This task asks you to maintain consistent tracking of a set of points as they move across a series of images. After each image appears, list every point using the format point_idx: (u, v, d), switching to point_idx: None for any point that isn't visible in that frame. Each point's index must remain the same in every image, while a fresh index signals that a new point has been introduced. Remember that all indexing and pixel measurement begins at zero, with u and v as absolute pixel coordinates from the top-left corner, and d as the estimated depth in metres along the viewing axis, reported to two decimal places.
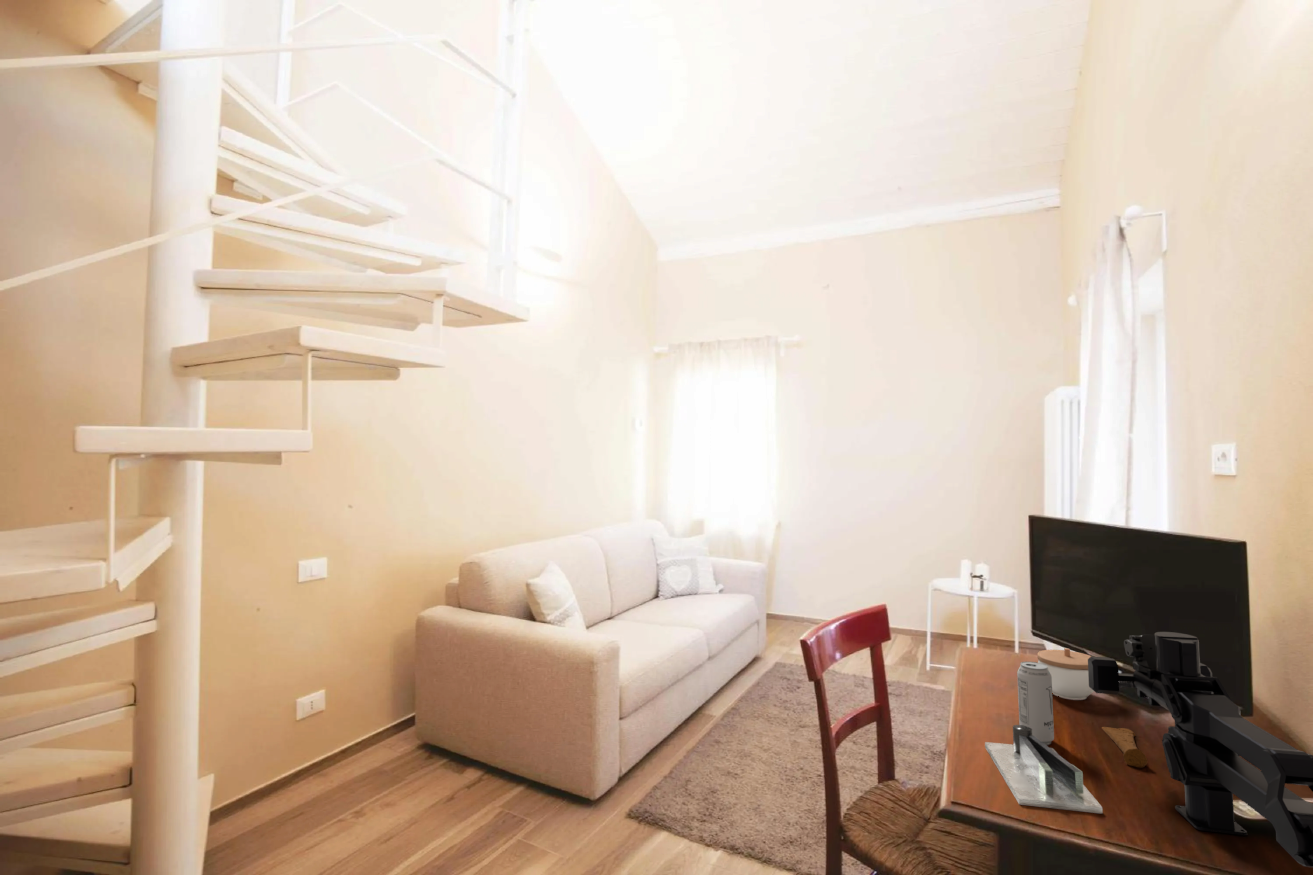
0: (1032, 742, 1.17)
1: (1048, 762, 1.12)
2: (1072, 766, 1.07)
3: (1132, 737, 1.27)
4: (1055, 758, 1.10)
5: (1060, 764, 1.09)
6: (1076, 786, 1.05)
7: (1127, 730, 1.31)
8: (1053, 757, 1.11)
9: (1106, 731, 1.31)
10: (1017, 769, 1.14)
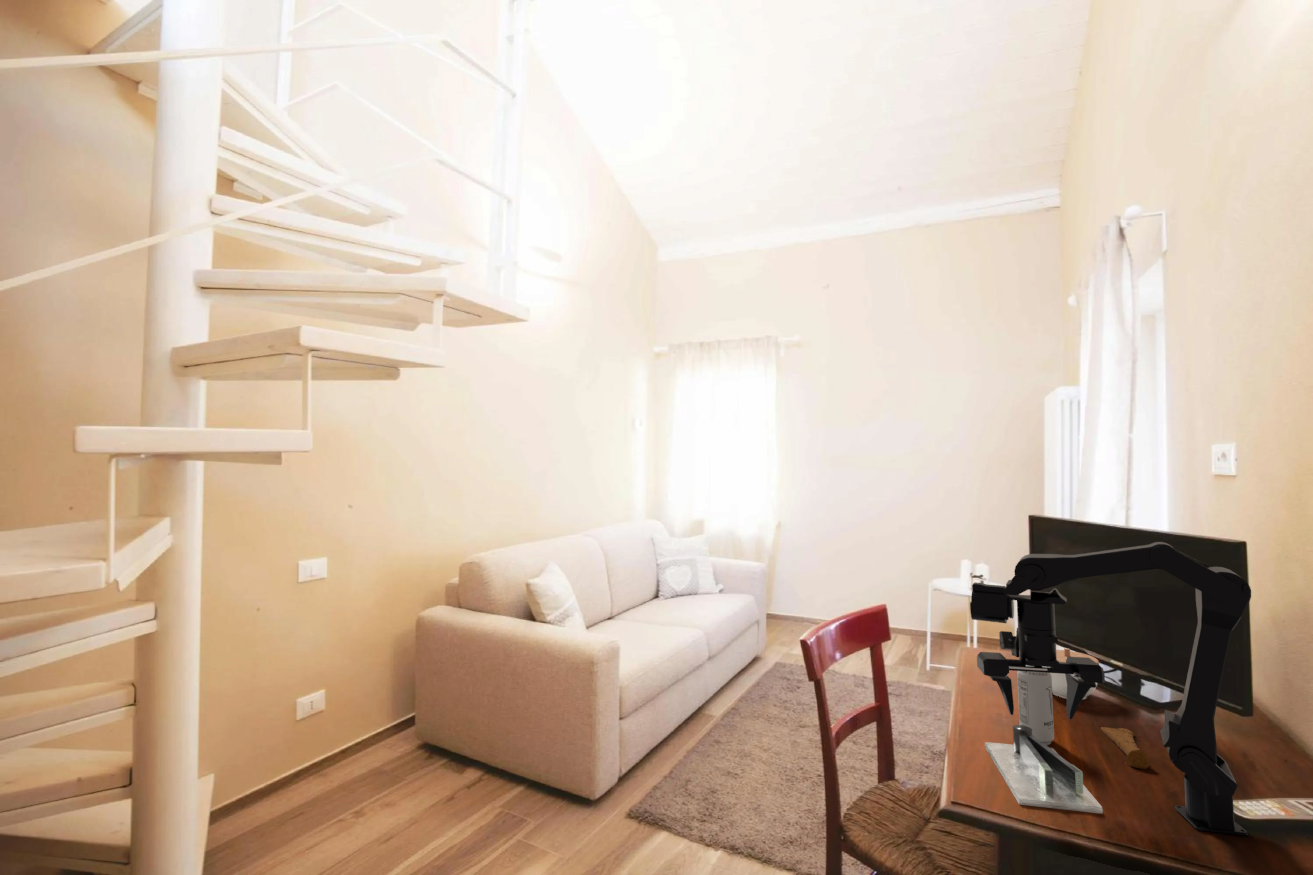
0: (1032, 742, 1.17)
1: (1048, 762, 1.12)
2: (1072, 766, 1.07)
3: (1132, 737, 1.27)
4: (1055, 758, 1.10)
5: (1060, 764, 1.09)
6: (1076, 786, 1.05)
7: (1126, 730, 1.31)
8: (1053, 757, 1.11)
9: (1105, 731, 1.31)
10: (1017, 769, 1.14)
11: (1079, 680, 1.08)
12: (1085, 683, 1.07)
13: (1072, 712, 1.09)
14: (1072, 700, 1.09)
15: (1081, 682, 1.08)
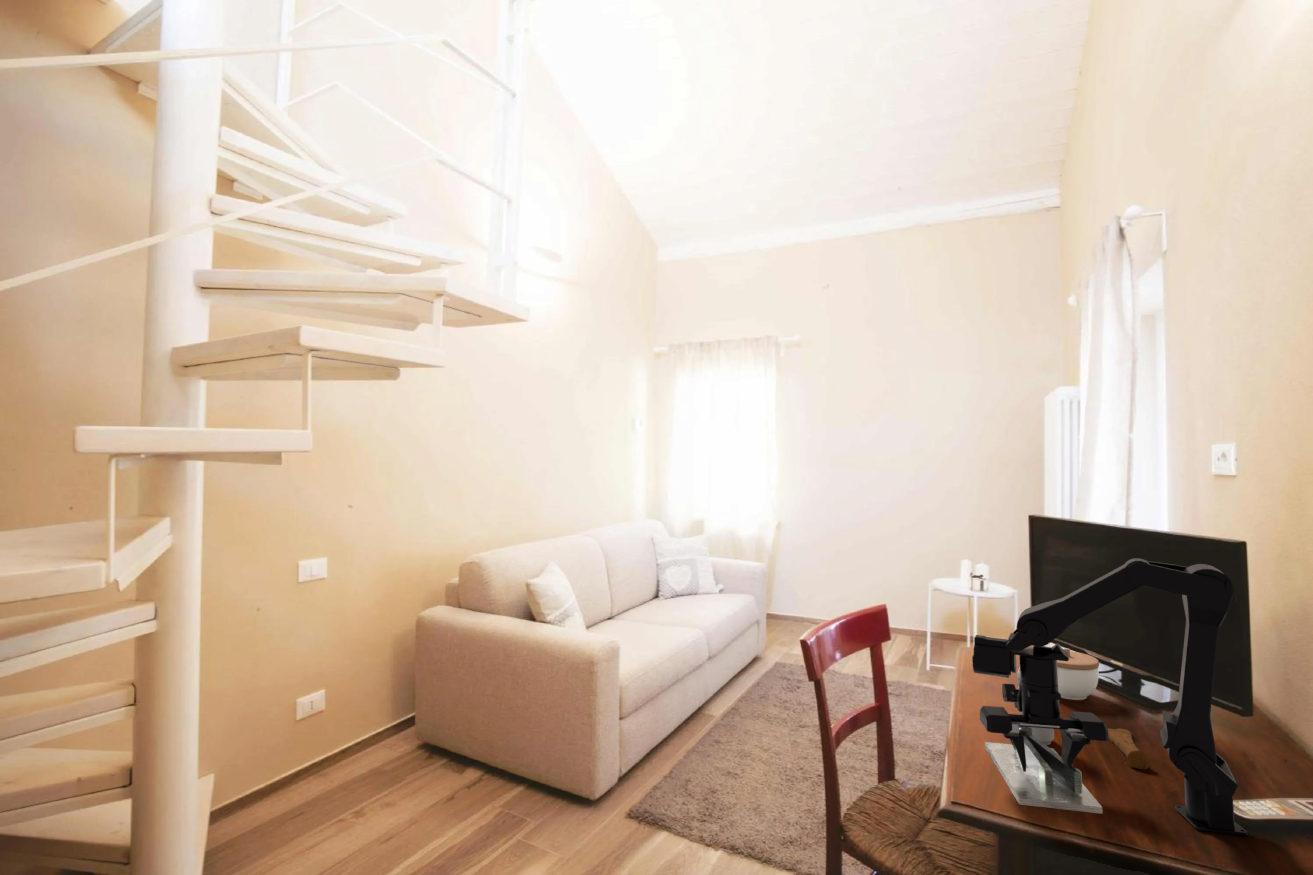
0: (1032, 742, 1.17)
1: (1048, 762, 1.12)
2: (1071, 766, 1.07)
3: (1131, 738, 1.26)
4: (1054, 758, 1.10)
5: (1059, 764, 1.09)
6: (1075, 786, 1.05)
7: (1124, 730, 1.31)
8: (1052, 757, 1.11)
9: None
10: (1017, 769, 1.14)
11: (1073, 736, 1.08)
12: (1079, 740, 1.07)
13: None
14: (1067, 756, 1.08)
15: (1075, 739, 1.07)
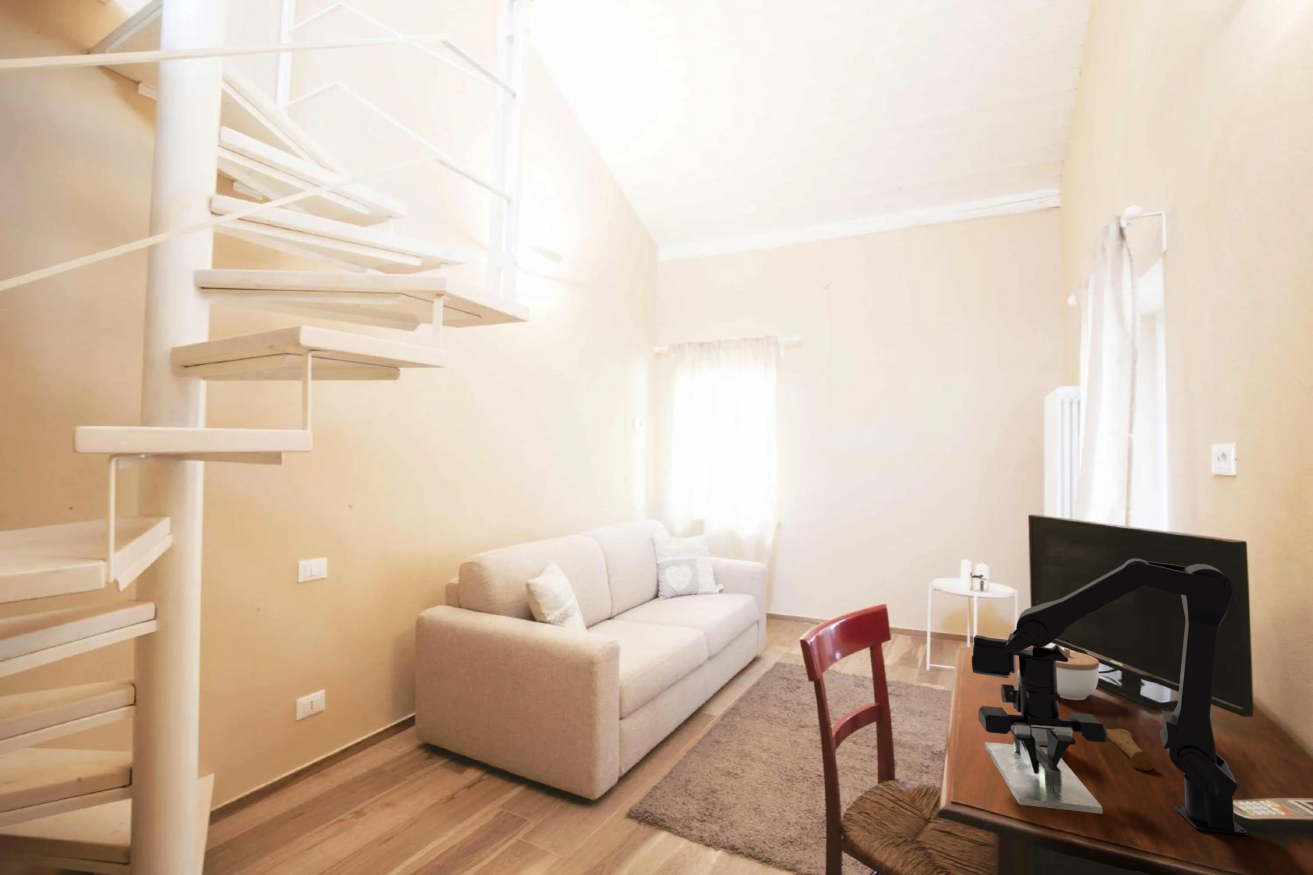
0: None
1: None
2: (1053, 765, 1.07)
3: (1131, 738, 1.26)
4: None
5: None
6: (1054, 785, 1.05)
7: (1124, 731, 1.31)
8: None
9: None
10: (1017, 769, 1.14)
11: (1059, 736, 1.09)
12: (1065, 740, 1.08)
13: None
14: (1052, 756, 1.09)
15: (1061, 739, 1.08)
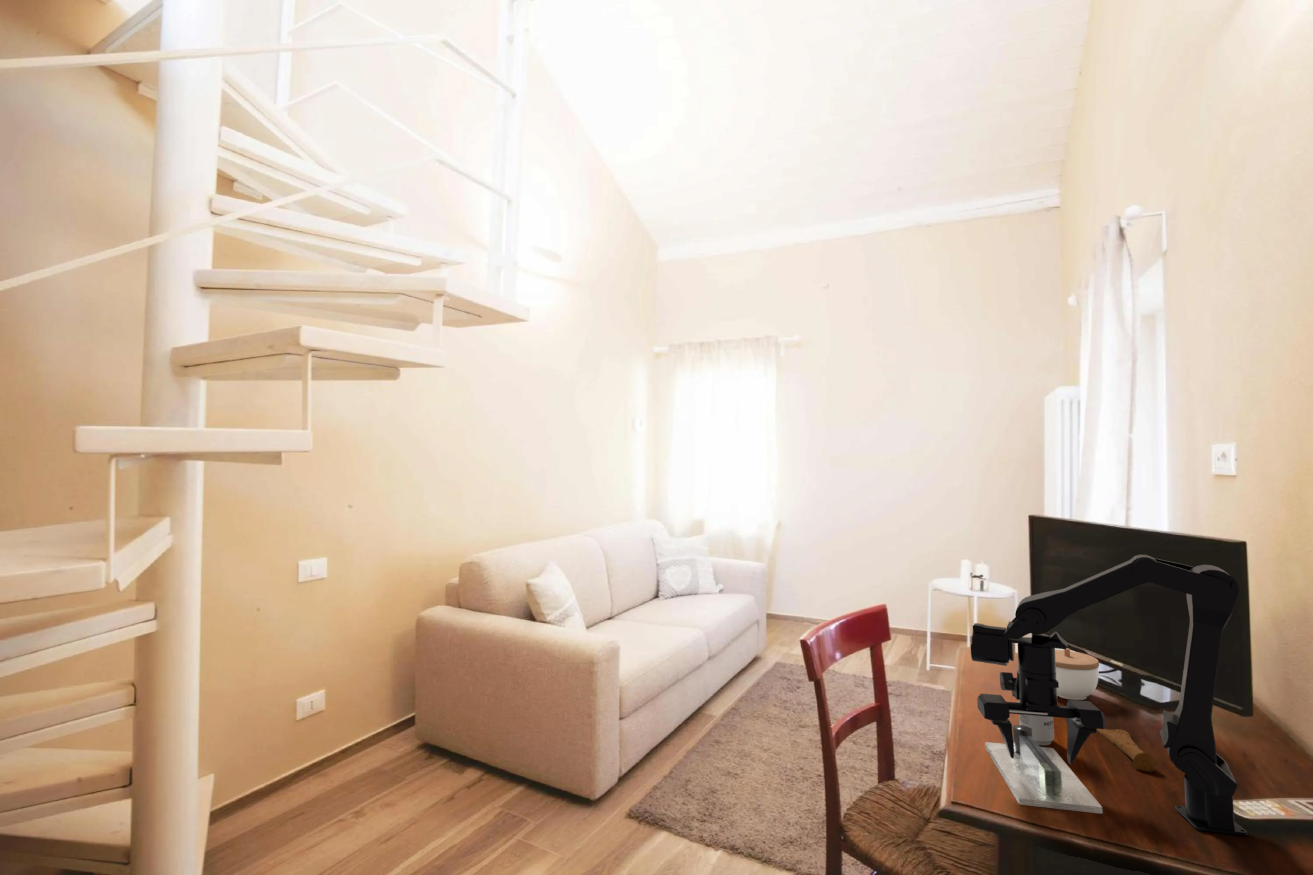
0: None
1: None
2: (1053, 765, 1.07)
3: (1131, 739, 1.26)
4: None
5: None
6: (1054, 785, 1.05)
7: (1122, 731, 1.30)
8: None
9: (1103, 733, 1.30)
10: (1017, 769, 1.14)
11: (1080, 725, 1.08)
12: (1086, 728, 1.07)
13: (1073, 757, 1.09)
14: (1073, 745, 1.08)
15: (1082, 728, 1.07)
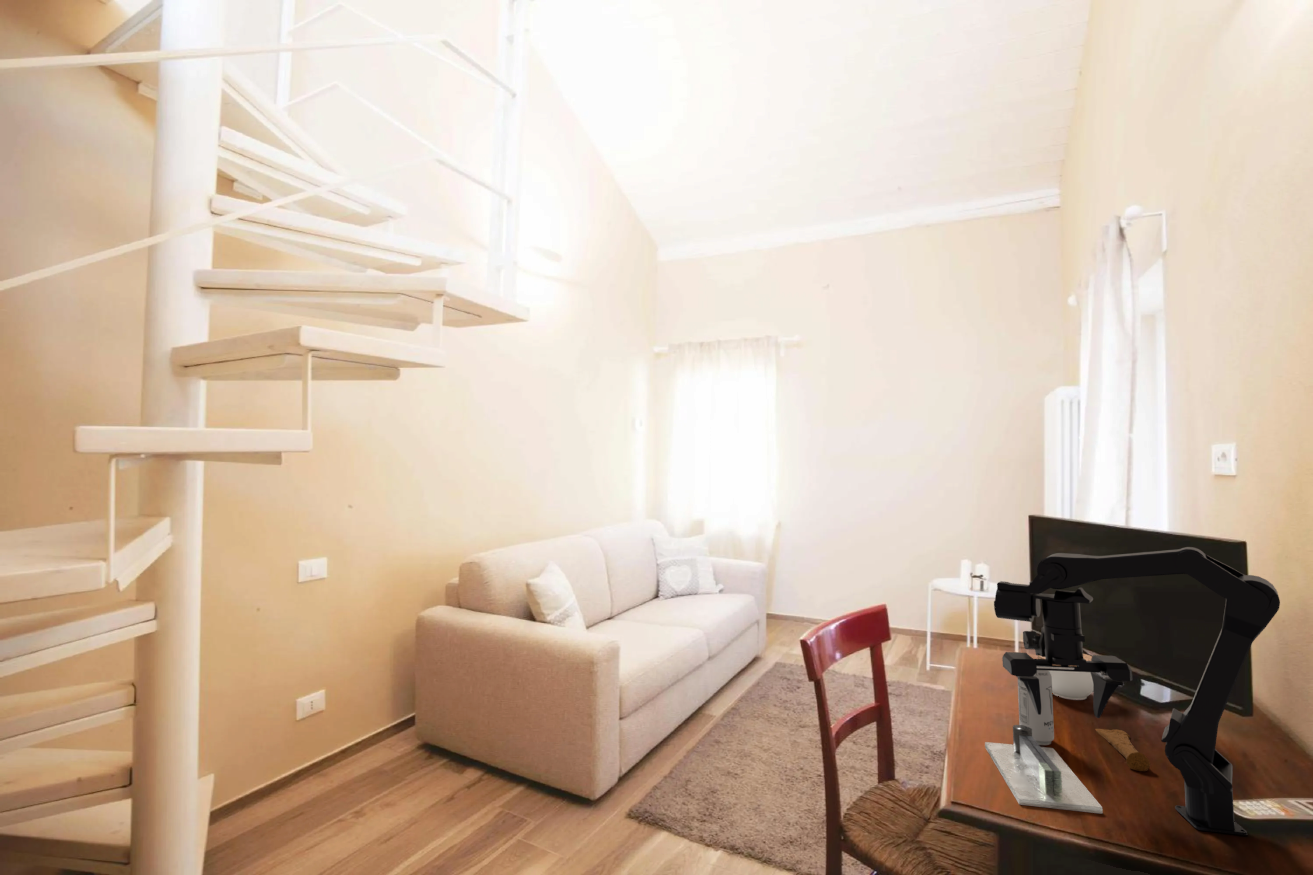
0: None
1: None
2: (1053, 765, 1.07)
3: (1128, 739, 1.26)
4: None
5: None
6: (1054, 785, 1.05)
7: (1121, 731, 1.30)
8: None
9: (1101, 733, 1.30)
10: (1017, 769, 1.14)
11: (1106, 678, 1.09)
12: (1113, 681, 1.08)
13: (1100, 711, 1.09)
14: (1100, 698, 1.09)
15: (1108, 681, 1.08)
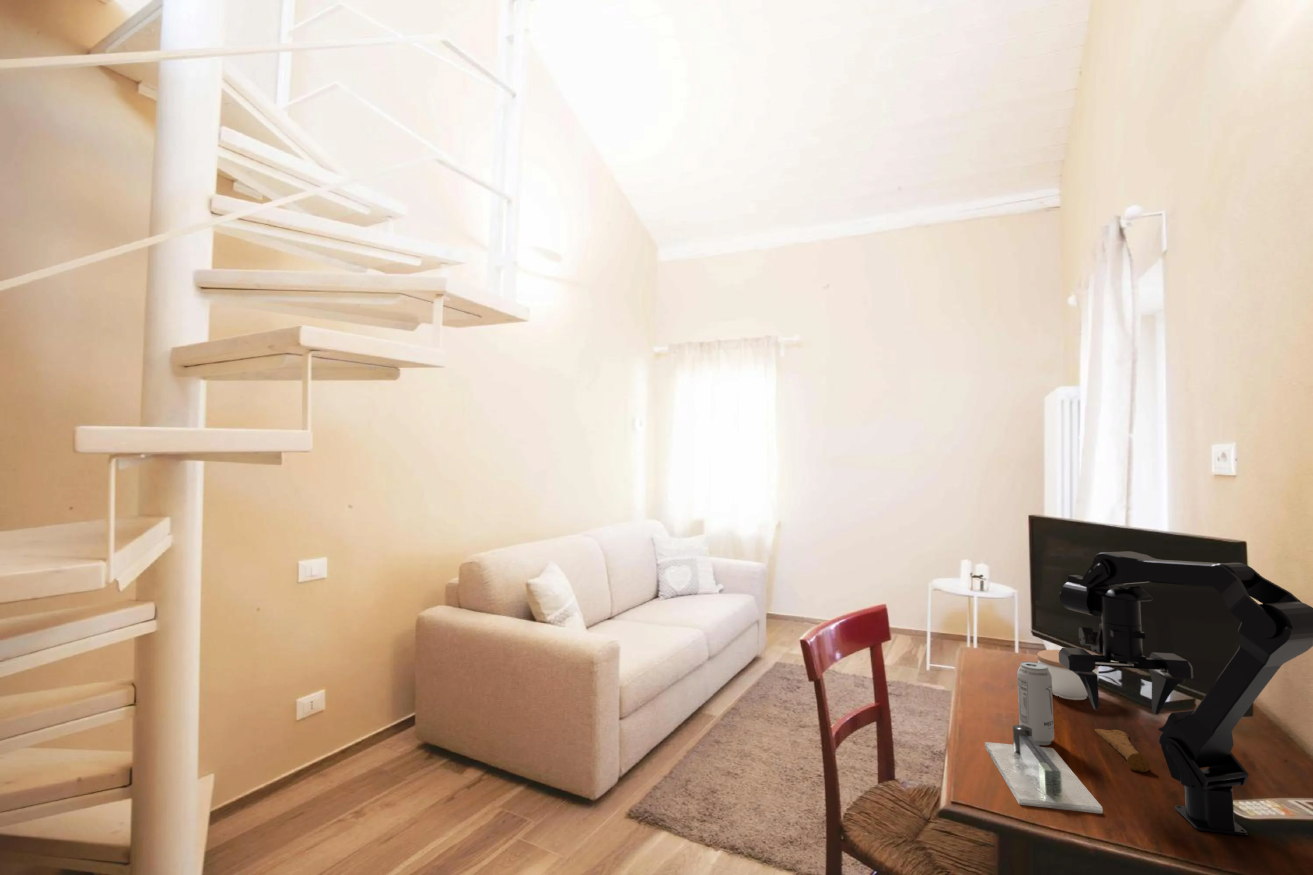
0: None
1: None
2: (1053, 765, 1.07)
3: (1128, 739, 1.26)
4: None
5: None
6: (1054, 785, 1.05)
7: (1120, 732, 1.30)
8: None
9: (1101, 734, 1.30)
10: (1017, 769, 1.14)
11: (1166, 675, 1.09)
12: (1173, 678, 1.08)
13: (1159, 707, 1.10)
14: (1159, 695, 1.09)
15: (1168, 678, 1.08)
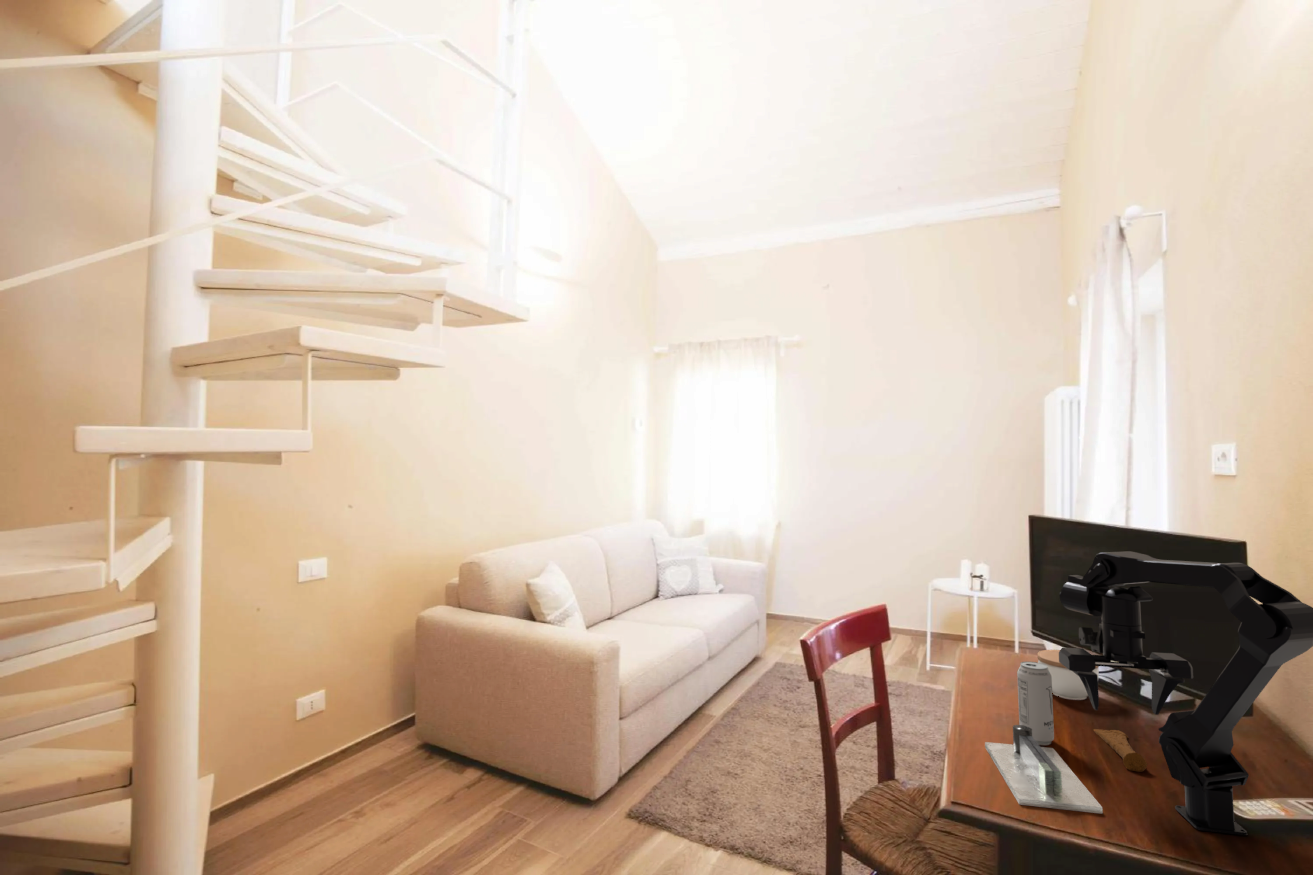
0: None
1: None
2: (1053, 765, 1.07)
3: (1126, 739, 1.26)
4: None
5: None
6: (1054, 785, 1.05)
7: (1119, 732, 1.30)
8: None
9: (1099, 734, 1.30)
10: (1017, 769, 1.14)
11: (1166, 675, 1.09)
12: (1173, 678, 1.08)
13: (1159, 707, 1.10)
14: (1159, 695, 1.09)
15: (1168, 678, 1.08)
